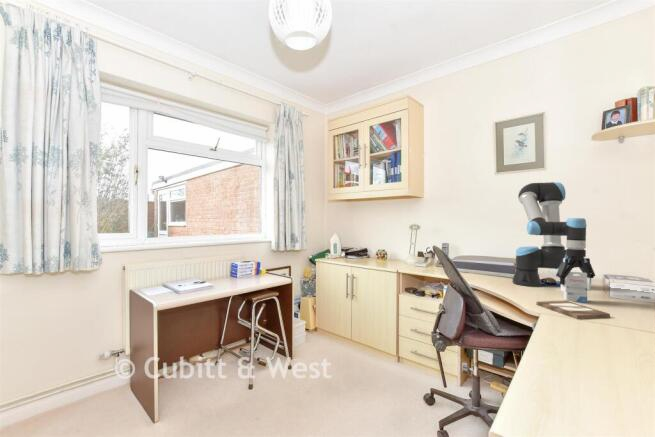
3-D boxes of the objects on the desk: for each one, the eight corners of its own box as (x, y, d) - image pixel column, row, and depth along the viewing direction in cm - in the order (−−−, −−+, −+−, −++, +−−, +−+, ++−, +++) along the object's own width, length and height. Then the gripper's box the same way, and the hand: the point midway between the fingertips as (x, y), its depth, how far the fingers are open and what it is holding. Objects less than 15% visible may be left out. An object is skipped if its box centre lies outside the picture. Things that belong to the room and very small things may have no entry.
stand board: (536, 304, 143) (536, 301, 143) (565, 303, 146) (565, 299, 146) (577, 319, 124) (577, 314, 124) (609, 317, 126) (609, 313, 126)
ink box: (584, 300, 152) (585, 271, 151) (587, 302, 147) (588, 272, 147) (563, 298, 155) (563, 269, 155) (565, 300, 151) (566, 271, 151)
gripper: (561, 249, 145) (560, 293, 146) (604, 249, 149) (604, 291, 149) (547, 248, 153) (547, 289, 153) (589, 247, 157) (589, 288, 157)
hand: (575, 290), depth 151 cm, fingers open, 13 cm apart
